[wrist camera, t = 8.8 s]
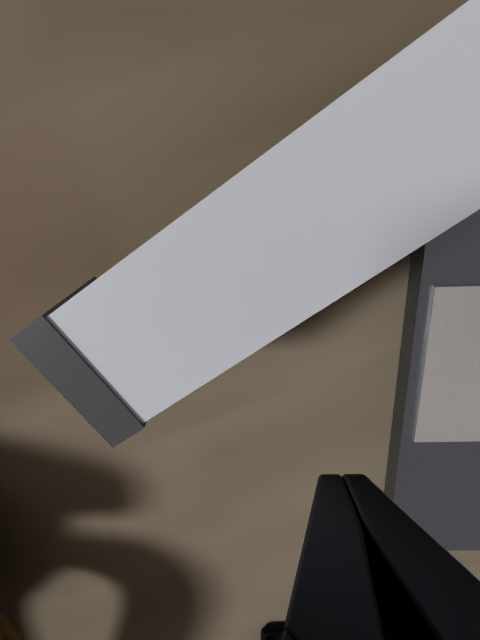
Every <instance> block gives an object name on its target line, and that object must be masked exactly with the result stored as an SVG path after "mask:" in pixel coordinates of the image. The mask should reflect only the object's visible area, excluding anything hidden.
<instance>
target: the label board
mask: <svg viewBox="0 0 480 640" xmlns="http://www.w3.org/2000/svg"><path fill="white" fill-rule="evenodd" d="M384 493H385V494H386V495H387V496H388V497H389V498H390V499H391V500H392V501H394V502H395V503H396V504H397V505H398V506H399V507H400V508H401V509H402V510H403V511H404V512H405V513H407V514H408V515H409V516H410V517H411V518H412V519H413V520H414V521H415V522H416V523H417V524H418V525H419V526H421V527H422V528H423V529H424V530H425V531H426V532H427V533H428V534H429V535H430V536H431V537H432V538H434V539H435V540H436V541H437V542H438V543H439V544H440V545H441V546H442V547H443V548H444V549H445V550H480V209H479V210H477V211H476V212H474V213H473V214H471V215H470V216H468V217H466V218H465V219H463V220H462V221H460V222H459V223H457V224H455V225H454V226H452V227H451V228H449V229H448V230H446V231H444V232H443V233H441V234H440V235H438V236H437V237H435V238H433V239H432V240H430V241H429V242H427V243H426V244H424V245H422V246H421V247H419V248H418V249H416V250H415V251H413V252H412V255H411V263H410V272H409V281H408V290H407V298H406V307H405V316H404V324H403V333H402V342H401V351H400V359H399V368H398V377H397V385H396V394H395V403H394V412H393V420H392V429H391V438H390V447H389V455H388V464H387V473H386V481H385V490H384Z"/></svg>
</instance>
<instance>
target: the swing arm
mask: <svg viewBox="0 0 480 640" xmlns="http://www.w3.org/2000/svg"><path fill="white" fill-rule="evenodd" d="M479 209H480V0H468V1H467V2H466V3H464V4H463V5H462V6H460V7H459V8H458V9H456V10H455V11H454V12H452V13H451V14H450V15H448V16H447V17H446V18H444V19H443V20H442V21H440V22H439V23H438V24H436V25H435V26H434V27H432V28H431V29H430V30H428V31H427V32H426V33H424V34H423V35H422V36H420V37H419V38H418V39H416V40H415V41H414V42H412V43H411V44H410V45H408V46H407V47H406V48H404V49H403V50H402V51H400V52H399V53H397V54H396V55H395V56H393V57H392V58H391V59H389V60H388V61H387V62H385V63H384V64H383V65H381V66H380V67H379V68H377V69H376V70H375V71H373V72H372V73H371V74H369V75H368V76H367V77H365V78H364V79H363V80H361V81H360V82H359V83H357V84H356V85H355V86H353V87H352V88H351V89H349V90H348V91H347V92H345V93H344V94H343V95H341V96H340V97H339V98H337V99H336V100H335V101H333V102H332V103H331V104H329V105H328V106H327V107H325V108H324V109H323V110H321V111H320V112H319V113H317V114H316V115H315V116H313V117H312V118H311V119H309V120H308V121H307V122H305V123H304V124H303V125H301V126H300V127H299V128H297V129H296V130H295V131H293V132H292V133H291V134H289V135H288V136H287V137H285V138H284V139H283V140H281V141H280V142H279V143H277V144H276V145H275V146H273V147H272V148H271V149H269V150H268V151H267V152H265V153H264V154H263V155H261V156H260V157H259V158H257V159H256V160H255V161H253V162H252V163H251V164H249V165H248V166H247V167H245V168H244V169H243V170H241V171H240V172H239V173H237V174H236V175H235V176H233V177H232V178H231V179H229V180H228V181H227V182H225V183H224V184H223V185H221V186H220V187H219V188H217V189H216V190H215V191H213V192H212V193H211V194H209V195H208V196H207V197H205V198H204V199H203V200H201V201H200V202H199V203H197V204H196V205H195V206H193V207H192V208H191V209H189V210H188V211H187V212H185V213H184V214H183V215H181V216H180V217H179V218H177V219H176V220H175V221H173V222H172V223H171V224H169V225H168V226H167V227H165V228H164V229H162V230H161V231H160V232H158V233H157V234H156V235H154V236H153V237H152V238H150V239H149V240H148V241H146V242H145V243H144V244H142V245H141V246H140V247H138V248H137V249H136V250H134V251H133V252H132V253H130V254H129V255H128V256H126V257H125V258H124V259H122V260H121V261H120V262H118V263H117V264H116V265H114V266H113V267H112V268H110V269H109V270H108V271H106V272H105V273H104V274H102V275H101V276H100V277H98V278H96V277H93V278H92V279H91V280H89V281H88V282H87V283H85V284H84V285H83V286H81V287H80V288H78V289H77V290H76V291H74V292H73V293H72V294H70V295H69V296H68V297H66V298H65V299H63V300H62V301H61V302H59V303H58V304H57V305H55V306H54V307H53V308H51V309H50V310H48V311H47V312H46V313H44V314H43V315H42V316H40V317H39V318H38V319H36V320H35V321H34V322H32V323H31V324H30V325H28V326H27V327H26V328H24V329H23V330H22V331H20V332H19V333H18V334H16V335H15V336H14V337H12V338H11V339H10V341H11V342H12V343H13V344H14V345H15V346H16V347H17V348H18V349H19V350H20V351H21V352H22V354H23V355H24V356H25V357H26V358H27V359H28V360H29V361H30V362H31V363H32V364H33V365H34V366H35V367H36V368H37V369H38V370H39V371H40V372H41V373H42V374H43V375H44V376H45V377H46V379H47V380H48V381H49V382H50V383H51V384H52V385H53V386H54V387H55V388H56V389H57V390H58V391H59V392H60V393H61V394H62V395H63V396H64V397H65V398H66V399H67V400H68V401H69V403H70V404H71V405H72V406H73V407H74V408H75V409H76V410H77V411H78V412H79V413H80V414H81V415H82V416H83V417H84V418H85V419H86V420H87V421H88V422H89V423H90V424H91V425H92V427H93V428H94V429H95V430H96V431H97V432H98V433H99V434H100V435H101V436H102V437H103V438H104V439H105V440H106V441H107V442H108V443H109V444H110V445H111V446H112V447H115V446H116V445H118V444H119V443H121V442H123V441H124V440H126V439H127V438H129V437H130V436H132V435H134V434H135V433H137V432H138V431H140V430H142V429H143V428H144V427H145V424H146V422H147V420H149V419H150V418H152V417H154V416H155V415H157V414H158V413H160V412H161V411H163V410H165V409H166V408H168V407H169V406H171V405H172V404H174V403H176V402H177V401H179V400H180V399H182V398H183V397H185V396H187V395H188V394H190V393H191V392H193V391H194V390H196V389H198V388H199V387H201V386H202V385H204V384H205V383H207V382H209V381H210V380H212V379H213V378H215V377H217V376H218V375H220V374H221V373H223V372H224V371H226V370H228V369H229V368H231V367H232V366H234V365H235V364H237V363H239V362H240V361H242V360H243V359H245V358H246V357H248V356H250V355H251V354H253V353H254V352H256V351H257V350H259V349H261V348H262V347H264V346H265V345H267V344H268V343H270V342H272V341H273V340H275V339H276V338H278V337H279V336H281V335H283V334H284V333H286V332H287V331H289V330H290V329H292V328H294V327H295V326H297V325H298V324H300V323H301V322H303V321H305V320H306V319H308V318H309V317H311V316H312V315H314V314H316V313H317V312H319V311H320V310H322V309H323V308H325V307H327V306H328V305H330V304H331V303H333V302H334V301H336V300H338V299H339V298H341V297H342V296H344V295H345V294H347V293H349V292H350V291H352V290H353V289H355V288H356V287H358V286H360V285H361V284H363V283H364V282H366V281H367V280H369V279H371V278H372V277H374V276H375V275H377V274H378V273H380V272H382V271H383V270H385V269H386V268H388V267H389V266H391V265H393V264H394V263H396V262H397V261H399V260H400V259H402V258H404V257H405V256H407V255H408V254H410V253H411V252H413V251H415V250H416V249H418V248H419V247H421V246H422V245H424V244H426V243H427V242H429V241H430V240H432V239H433V238H435V237H437V236H438V235H440V234H441V233H443V232H444V231H446V230H448V229H449V228H451V227H452V226H454V225H455V224H457V223H459V222H460V221H462V220H463V219H465V218H466V217H468V216H470V215H471V214H473V213H474V212H476V211H477V210H479Z"/></svg>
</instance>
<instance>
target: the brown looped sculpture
mask: <svg viewBox="0 0 480 640" xmlns="http://www.w3.org/2000/svg"><path fill="white" fill-rule="evenodd" d="M0 640H24V638H23V637H22V636H21V634H20V633H19V632H18V631H17V630H16V628H15V627H14V626H13V625H12V624H11V623H10V622H9V621H8V620H7V619H6V618H5V617H4V616H3V615H2V614H1V613H0Z"/></svg>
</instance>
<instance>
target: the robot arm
mask: <svg viewBox="0 0 480 640" xmlns="http://www.w3.org/2000/svg"><path fill="white" fill-rule="evenodd" d="M261 640H480V581H479V580H478V579H477V578H476V577H475V576H474V575H472V574H471V573H470V572H469V571H468V570H467V569H466V568H465V567H464V566H463V565H462V564H461V563H460V562H458V561H457V560H456V559H455V558H454V557H453V556H452V555H451V554H450V553H449V552H448V551H447V550H445V549H444V548H443V547H442V546H441V545H440V544H439V543H438V542H437V541H436V540H435V539H434V538H432V537H431V536H430V535H429V534H428V533H427V532H426V531H425V530H424V529H423V528H422V527H421V526H419V525H418V524H417V523H416V522H415V521H414V520H413V519H412V518H411V517H410V516H409V515H408V514H407V513H405V512H404V511H403V510H402V509H401V508H400V507H399V506H398V505H397V504H396V503H395V502H394V501H392V500H391V499H390V498H389V497H388V496H387V495H386V494H385V493H384V492H383V491H382V490H381V489H379V488H378V487H377V486H376V485H375V484H374V483H373V482H372V481H371V480H370V479H369V478H368V477H366V476H365V475H363V474H344V475H343V476H342V477H341V476H340V475H339V474H322V475H320V476H319V478H318V482H317V487H316V491H315V495H314V500H313V504H312V508H311V513H310V517H309V521H308V525H307V530H306V534H305V538H304V543H303V547H302V551H301V556H300V560H299V564H298V569H297V573H296V577H295V582H294V586H293V590H292V595H291V599H290V603H289V608H288V612H287V616H286V621H285V625H284V626H266V627H263V628H262V629H261Z"/></svg>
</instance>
